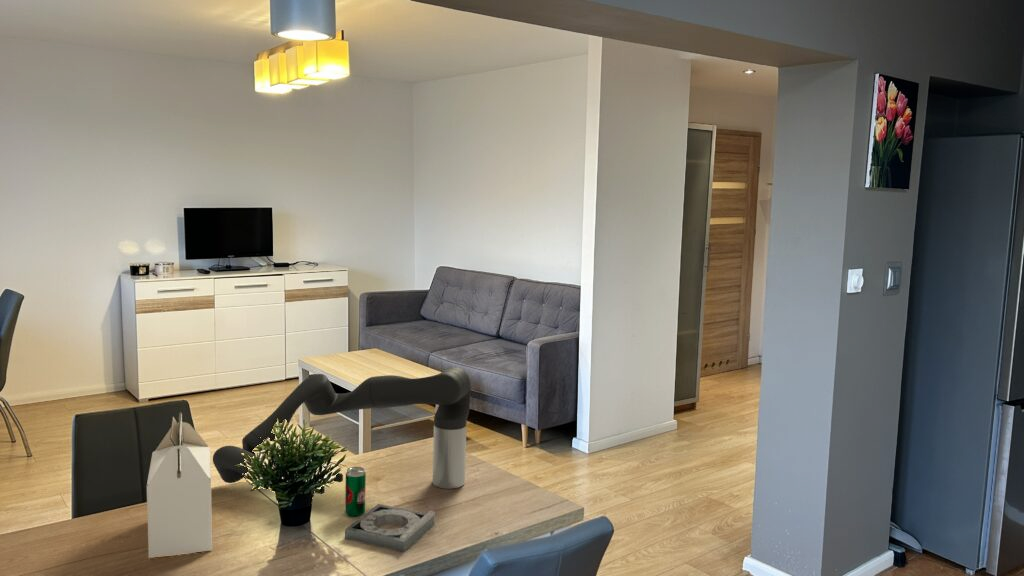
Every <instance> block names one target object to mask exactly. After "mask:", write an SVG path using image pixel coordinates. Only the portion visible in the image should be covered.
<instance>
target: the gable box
mask: <svg viewBox="0 0 1024 576" xmlns="http://www.w3.org/2000/svg"><path fill="white" fill-rule="evenodd" d="M171 419H172V420H171V426H170V428H169V430H168V431H167V433H166V434H165V436H164V437H163V439H161V441H160V442H159V444H158V446H157V447H156V449H155V450H154V451H152V454H151V459H150V465H149V471H148V475H147V476H148V477H147V481H146V482H147V483H146V509H147V511H146V512H147V513H146V514H147V515H146V516H147V543H148V544H147V546H148V551H147V552H148V558H149V557H154V556H162V555H171V554H181V553H192V552H200V551H207V550H212V551H213V531H212V530H213V529H212V528H213V526H212V525H213V523H212V477H211V476H212V475H211V474H212V466H211V465H212V463H211V462H212V461H211V447H210V446H209V445H208V444H207V443H206V442H205V440H204V439H203V438H202V437H201V435H200V434H199V433H198V432H197V430H195V429H194V427H193V426H192V425H191V424H190V423H189V422H187V421H183V413H182V412H179V415H178V422H177V420H176V419H175V417H174V416H172V418H171Z"/></svg>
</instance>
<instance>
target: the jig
mask: <svg viewBox="0 0 1024 576" xmlns="http://www.w3.org/2000/svg"><path fill="white" fill-rule="evenodd" d="M384 525H399V526H403V527H399V528H396V529H395V528H394V529H384V528H380V526H384ZM434 525H435V511H434V510H429V511H428V512H426V513H425V512H421V511H415V510H410V509H405V508H402V507H395V506H391V505H386V504H380V503H377V504H376V505H375V506H373V507H372V508H371V509H369V510H368V511H367V512H365V513H364V514H363V515H362V516H360V517H358V518H357V519H355V521H353V522H352V523H351V524H349V525H347V526H346V527H345V528H344V540H348V541H352V542H353V541H354V542H357V543H360V544H361V543H362V544H367V545H371V546H375V547H379V548H385V549H389V550H393V551H398V552H401V553H402V552H403V553H405V552H406V551H407V550H408V549H409V548H411V547H412V546H413V545H414V544H415V543H416V541H418V540H419V539H420V538H422V536H423V535H425V534H426V533H427V532H428V531H429V530H430V529H431V528H432V527H434Z"/></svg>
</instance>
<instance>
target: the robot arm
mask: <svg viewBox="0 0 1024 576" xmlns="http://www.w3.org/2000/svg"><path fill="white" fill-rule="evenodd" d="M471 386H472V385H471V379H470V377H469V374H468V373H467V372H466V371H465V370H463V369H462V368H461V367H456V366H455V367H449V368H446V369H445V370H443V371H441V372H440V373H438V374H433V375H429V376H425V377H416V378H413V377H412V378H409V377H407V376H406V377H405V376H402V375H394V374H391V375H389V374H388V375H377V376H370V377H368V378H367V379H365V380H363V381H362V382H361V383H360V384H358V386H357V387H355V389H353V390H352V391H350V392H349V391H348V392H346V393H344V392H343V393H338V392H337V393H336V391H335V389H334V388H333V386H332V383H331V381H330V379H329V378H328V377H327V376H326V375H325V374H323V373H315V374H313V375H310V376H308V377H307V378H306V379H303V381H302V382H300V383H299V385H297V387H295V389H294V390H293V391H292V392H291V393H290V394H289V395H288V396H287V397H286V398H285V399H284V400H283V401H282V402H281V403H280V404H279V406H278V407H277V408H276V409H275V410H274V411H273V412H272V413H271V414H270V415H268V416H267V418H266V419H264V420H263V421H262V422H261V423H260V424H258V425H256V426H255V427H254V428H253V429H252V430H250V431H249V432H248V433H247V434H246V435H244V436H243V438H242V440H241V443H242V444H241V445H242V447H239V446H235V445H223V446H221V447H220V448H218V449H216V451H215V452H214V453H213V455H212V463H213V466H214V467H215V469H216V471H217V473H218V474H219V476H220V478H221V480H222V481H223V482H224V483H226V484H227V483H228V484H234V483H236V482H239V481H241V480H242V479H244V480H246V478H245V477H244V475H242V473H244V474H245V473H247V472H248V468H247V467H244V466H241V467H238V466H235V465H237V464H240V463H243V462H244V461H245V460H244V458H243V457H242V455H241V453H247V454H248V455H249V456H250V457H253V456H254V455H255V453H254V452H252V450H253V449H254V448H255V447H256V446H257V445H259V444H261V443H262V442H263V440H264V439H266V438H267V437H269V438H270V441H272V440H274V439H275V434H273V433H271V431H272V429H273V426H274V424H275V423H276V422H277V418H278V419H279V423H282V422H283V420H284V419H286V420H287V422H288V423H289V424H290V422H291V420H292V418H293V417H294V415H295V413H296V412H297V410H299V408H300V407H301V406H302V405H305V407H306V409H307V411H308V412H309V413H310V414H311V415H314V416H326V415H332V414H338V413H342V412H349V411H357V410H358V411H359V410H367V409H368V410H369V409H386V408H387V409H388V408H397V407H398V408H399V407H405V406H412V405H438V407H437V409H436V412H435V413H434V416H433V442H432V443H433V444H432V445H433V447H432V448H433V451H432V485H433V486H435V487H436V488H440V489H445V490H446V489H448V490H450V489H452V490H453V489H458V488H462V486H464V485H465V481H466V479H465V477H466V454H467V453H466V452H467V448H466V447H467V422H468V417H469V414H470V405H471V388H472V387H471ZM260 437H261V438H260ZM322 466H323V467H324V468H326V467H328V466H326V465H322ZM337 473H338V474H337V475H336V478H335V479H334V481H333V482H334V483H335V482H336V483H342V482H343V481H344V474H343V473H340V472H337ZM325 487H326V486H325V485H324V486H322V487H321V489H320V490H318V491H315V492H314V494H319V495H323V494H324V493H326V489H325Z"/></svg>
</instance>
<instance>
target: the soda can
mask: <svg viewBox="0 0 1024 576" xmlns="http://www.w3.org/2000/svg"><path fill="white" fill-rule="evenodd" d="M366 480H367V473H366V471H365V468H364V467H362V466H351V467H348V468H347V469H346V472H345V487H344V488H345V494H344V495H345V497H344V498H345V501H344V502H345V505H344V506H345V508H344V513H345V515H346V516H347V517H349V518H360V517H361V516H363V515H364V514H365V513H366V489H367V488H366V485H367V484H366V482H367V481H366Z"/></svg>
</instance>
